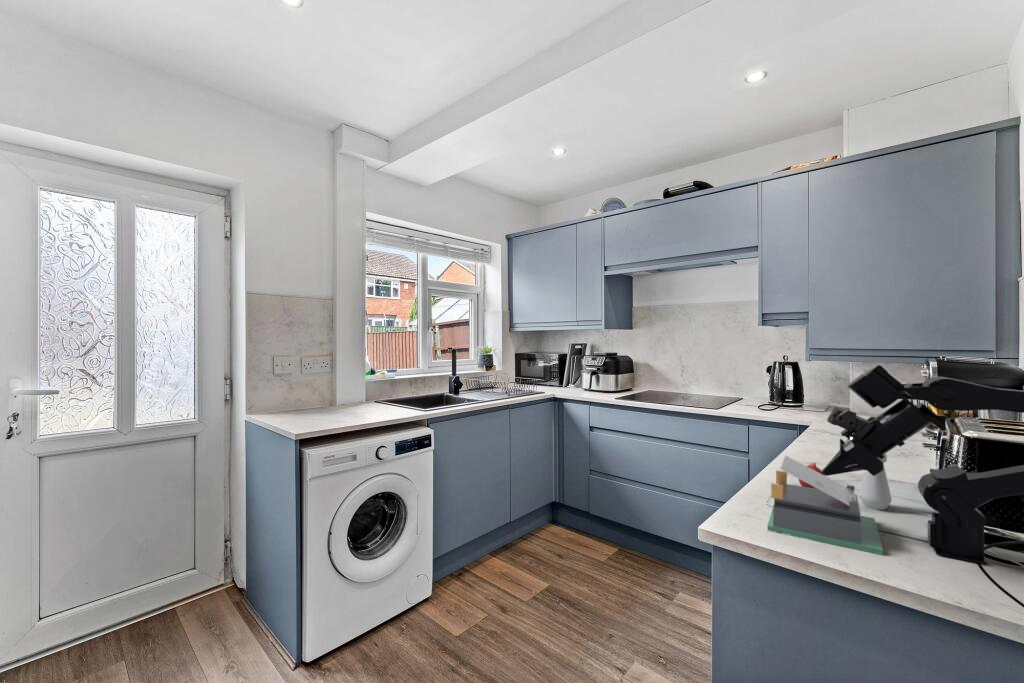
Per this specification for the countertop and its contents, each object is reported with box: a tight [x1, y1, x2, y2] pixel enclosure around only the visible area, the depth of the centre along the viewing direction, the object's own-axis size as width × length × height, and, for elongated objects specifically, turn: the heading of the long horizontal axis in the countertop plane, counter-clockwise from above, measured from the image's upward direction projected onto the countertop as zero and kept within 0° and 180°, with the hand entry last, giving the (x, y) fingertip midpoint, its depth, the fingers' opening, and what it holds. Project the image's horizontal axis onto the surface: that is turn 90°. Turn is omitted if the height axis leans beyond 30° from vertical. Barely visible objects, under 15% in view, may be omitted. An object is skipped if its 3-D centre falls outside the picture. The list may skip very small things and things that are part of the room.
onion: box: [798, 462, 826, 489], centre depth 110 cm, size 6×6×8 cm
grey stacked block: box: [770, 469, 861, 544], centre depth 92 cm, size 14×16×8 cm
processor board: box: [767, 508, 884, 556], centre depth 91 cm, size 18×17×1 cm
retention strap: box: [780, 455, 856, 506], centre depth 91 cm, size 14×10×1 cm
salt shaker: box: [858, 453, 893, 511], centre depth 101 cm, size 6×6×13 cm
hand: (823, 473), depth 91 cm, fingers closed
